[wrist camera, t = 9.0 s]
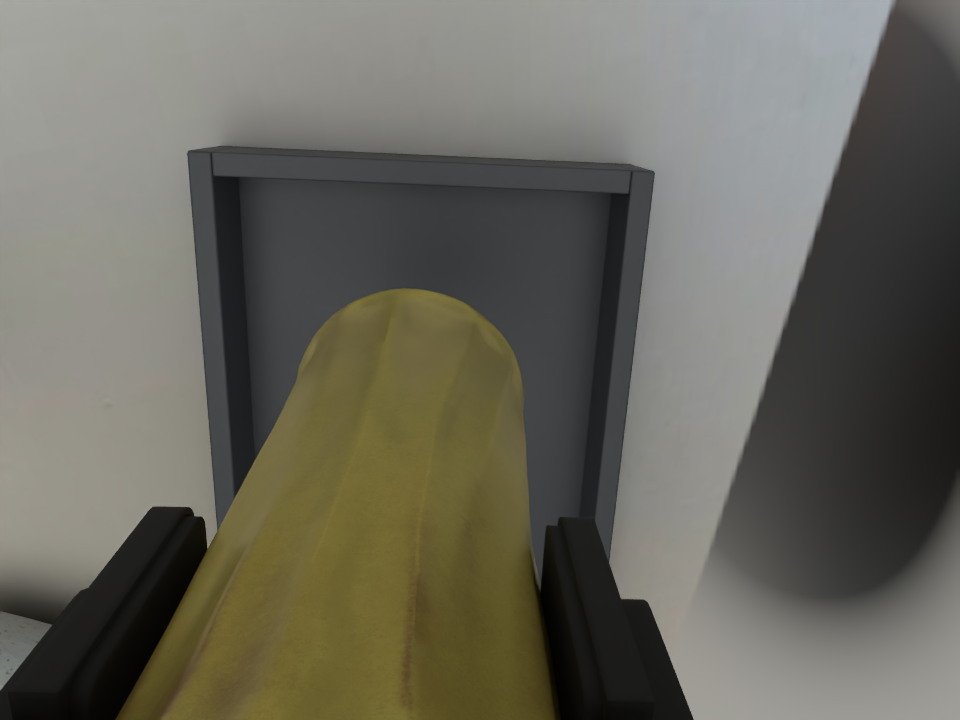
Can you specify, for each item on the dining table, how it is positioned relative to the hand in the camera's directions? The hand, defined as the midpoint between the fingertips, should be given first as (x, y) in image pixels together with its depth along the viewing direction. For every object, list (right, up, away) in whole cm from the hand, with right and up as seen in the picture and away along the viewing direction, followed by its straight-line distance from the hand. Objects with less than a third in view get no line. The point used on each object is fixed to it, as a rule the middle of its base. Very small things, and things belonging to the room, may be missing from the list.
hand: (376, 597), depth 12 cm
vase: (0, +3, +9) cm, 9 cm away
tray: (-1, +1, +19) cm, 20 cm away
